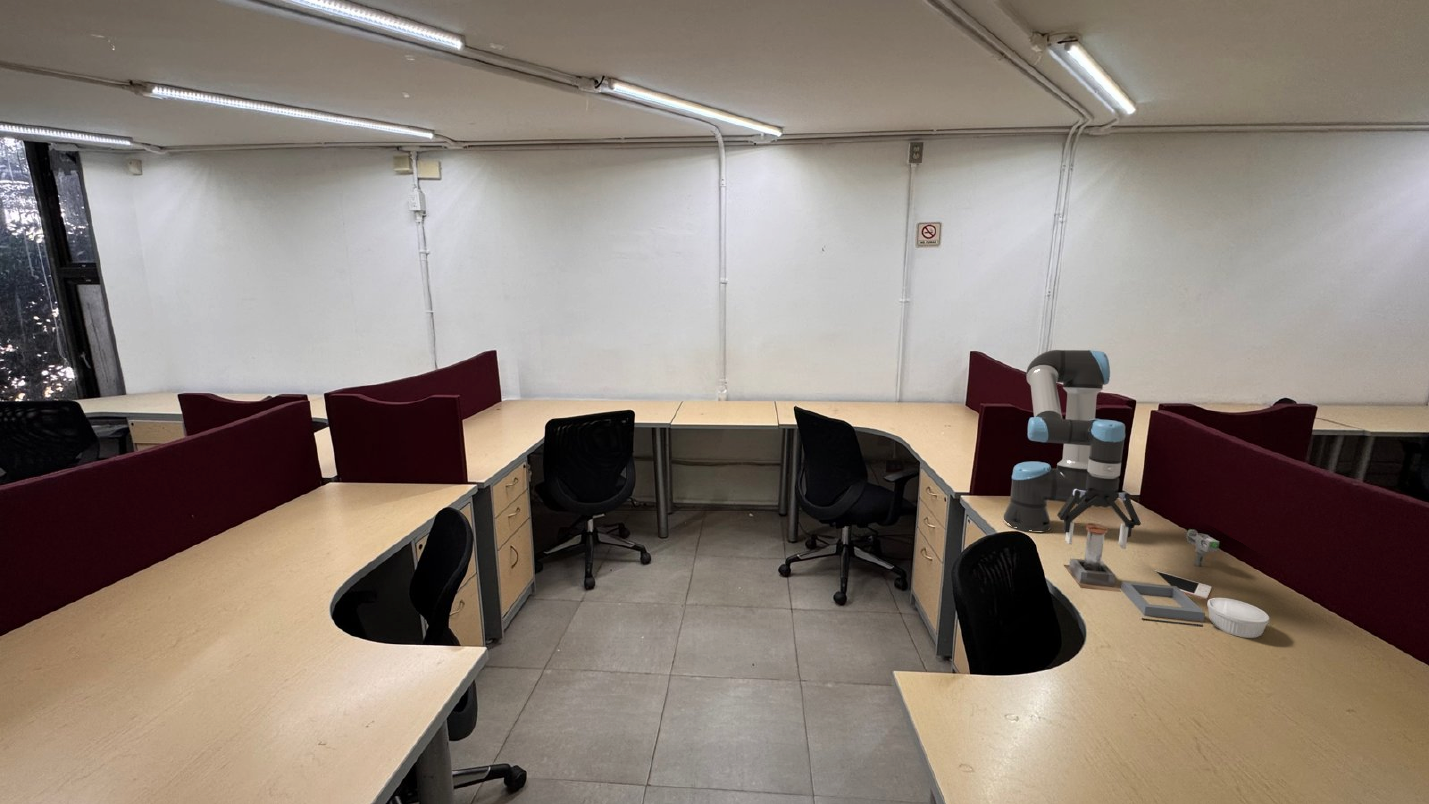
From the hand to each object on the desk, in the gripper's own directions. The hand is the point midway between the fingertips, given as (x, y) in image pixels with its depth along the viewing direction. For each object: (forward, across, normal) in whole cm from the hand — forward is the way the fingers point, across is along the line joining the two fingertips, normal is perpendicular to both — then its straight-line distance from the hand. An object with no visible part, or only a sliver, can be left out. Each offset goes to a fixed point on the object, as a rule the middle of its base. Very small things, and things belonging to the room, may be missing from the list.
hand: (1095, 544), depth 157 cm
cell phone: (+13, +22, +6) cm, 26 cm away
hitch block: (+12, 0, 0) cm, 12 cm away
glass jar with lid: (+10, 0, 0) cm, 11 cm away
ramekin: (+13, +26, -16) cm, 33 cm away
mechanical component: (+12, +36, +18) cm, 42 cm away
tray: (+12, +12, -12) cm, 21 cm away
